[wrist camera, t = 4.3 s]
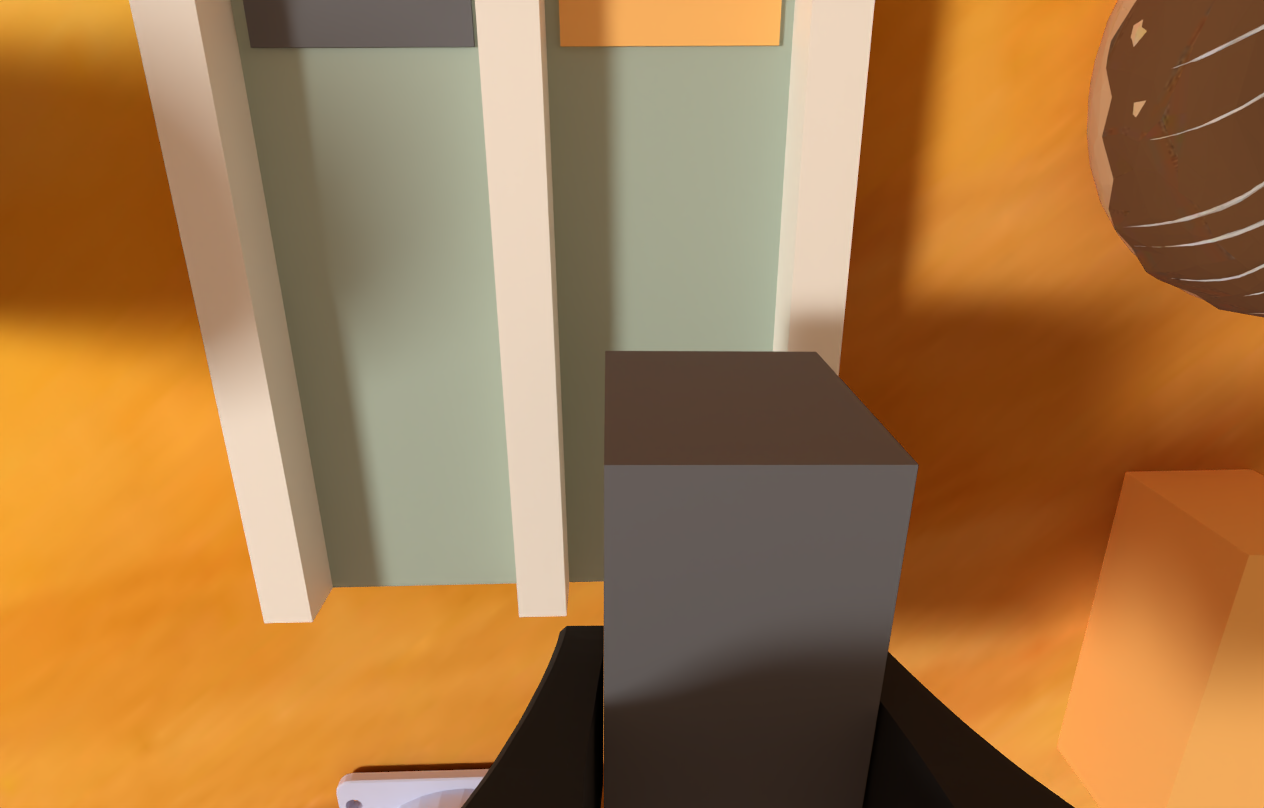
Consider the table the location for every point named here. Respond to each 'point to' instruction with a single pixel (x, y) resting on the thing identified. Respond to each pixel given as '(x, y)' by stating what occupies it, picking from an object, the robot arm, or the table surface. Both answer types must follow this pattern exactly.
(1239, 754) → the wooden block
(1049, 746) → the table surface
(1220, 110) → the donut
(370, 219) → the comb board
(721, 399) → the dark grey block
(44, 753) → the table surface
